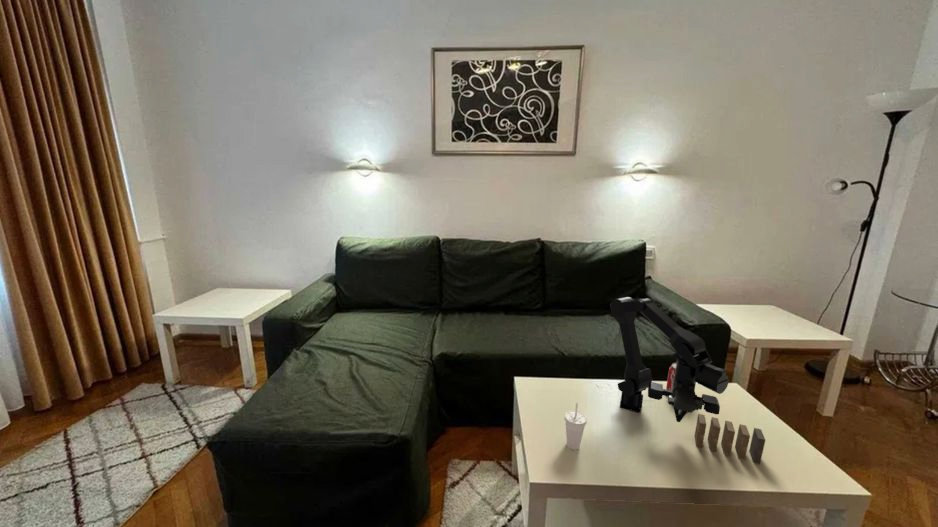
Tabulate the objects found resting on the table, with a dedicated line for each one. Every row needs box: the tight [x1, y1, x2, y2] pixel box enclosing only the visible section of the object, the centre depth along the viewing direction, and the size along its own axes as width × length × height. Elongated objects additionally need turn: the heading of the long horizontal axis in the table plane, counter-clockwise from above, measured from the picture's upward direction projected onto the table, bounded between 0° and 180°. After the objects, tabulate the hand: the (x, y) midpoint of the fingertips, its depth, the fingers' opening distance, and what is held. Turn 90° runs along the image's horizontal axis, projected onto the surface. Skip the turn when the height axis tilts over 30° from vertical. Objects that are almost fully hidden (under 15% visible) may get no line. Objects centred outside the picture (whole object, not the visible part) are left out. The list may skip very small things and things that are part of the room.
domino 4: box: [734, 423, 751, 461], centre depth 105 cm, size 2×5×8 cm, turn 153°
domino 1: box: [694, 413, 707, 448], centre depth 110 cm, size 2×5×8 cm, turn 153°
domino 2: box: [707, 416, 721, 452], centre depth 109 cm, size 2×5×8 cm, turn 153°
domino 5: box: [748, 427, 766, 465], centre depth 104 cm, size 2×5×8 cm, turn 153°
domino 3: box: [720, 420, 736, 456], centre depth 107 cm, size 2×5×8 cm, turn 153°
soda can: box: [665, 362, 677, 391], centre depth 134 cm, size 7×7×12 cm
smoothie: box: [564, 402, 588, 451], centre depth 107 cm, size 6×6×14 cm
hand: (678, 421), depth 113 cm, fingers closed
